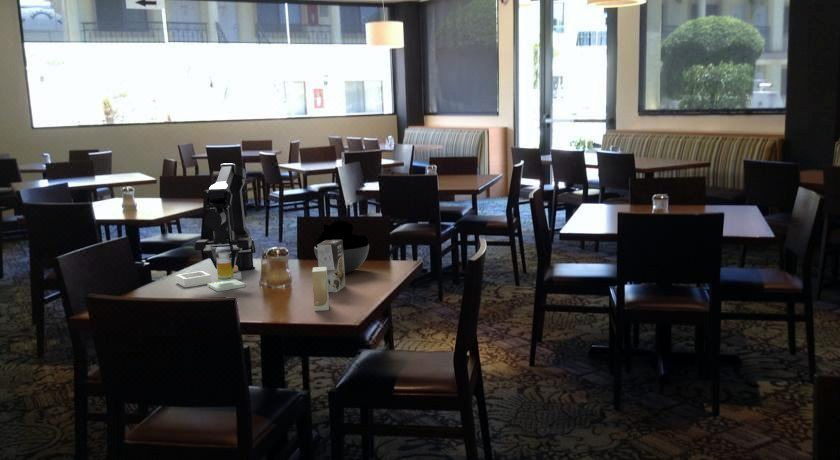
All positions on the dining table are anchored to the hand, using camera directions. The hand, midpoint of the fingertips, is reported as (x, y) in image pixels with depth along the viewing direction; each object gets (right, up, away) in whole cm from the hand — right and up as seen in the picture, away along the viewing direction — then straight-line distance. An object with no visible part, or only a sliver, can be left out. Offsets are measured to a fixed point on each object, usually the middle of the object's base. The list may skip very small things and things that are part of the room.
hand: (225, 268), depth 263 cm
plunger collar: (-2, -5, +13) cm, 14 cm away
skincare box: (+38, -11, -34) cm, 52 cm away
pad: (0, -6, +1) cm, 6 cm away
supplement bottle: (0, -4, 0) cm, 4 cm away
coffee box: (+39, -7, -10) cm, 40 cm away
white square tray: (-13, -6, +9) cm, 17 cm away
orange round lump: (-2, -4, +13) cm, 13 cm away
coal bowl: (+39, -3, +16) cm, 42 cm away
